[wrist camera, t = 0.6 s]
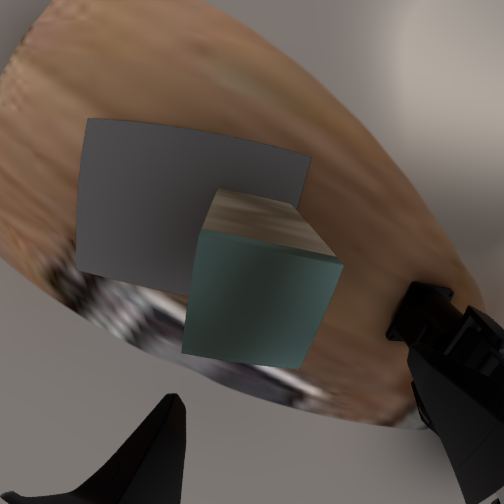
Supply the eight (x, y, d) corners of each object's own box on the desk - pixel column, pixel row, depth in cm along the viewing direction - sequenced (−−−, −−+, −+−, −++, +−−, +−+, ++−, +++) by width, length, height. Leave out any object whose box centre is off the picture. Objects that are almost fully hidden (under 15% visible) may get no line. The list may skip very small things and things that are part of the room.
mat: (309, 156, 18) (311, 156, 17) (265, 306, 22) (266, 310, 22) (91, 118, 16) (87, 118, 15) (80, 266, 20) (77, 269, 19)
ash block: (291, 204, 19) (343, 265, 9) (272, 269, 20) (299, 369, 11) (218, 187, 18) (198, 235, 9) (204, 256, 20) (181, 352, 10)
